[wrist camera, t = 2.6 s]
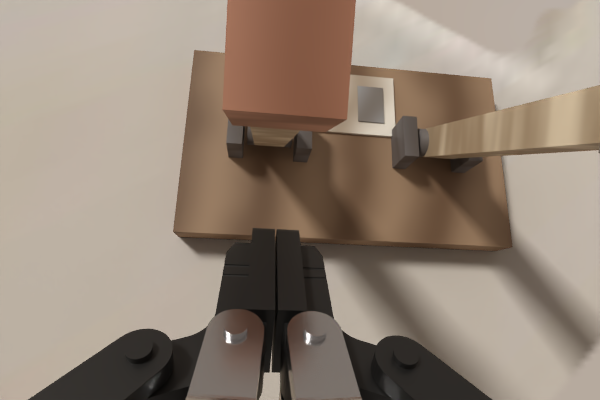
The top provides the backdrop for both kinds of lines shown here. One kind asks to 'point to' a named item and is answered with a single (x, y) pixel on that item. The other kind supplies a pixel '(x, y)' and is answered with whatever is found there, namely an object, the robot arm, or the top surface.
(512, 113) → the slate lever
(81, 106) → the top surface
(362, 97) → the switch board
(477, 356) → the top surface
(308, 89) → the terracotta lever
